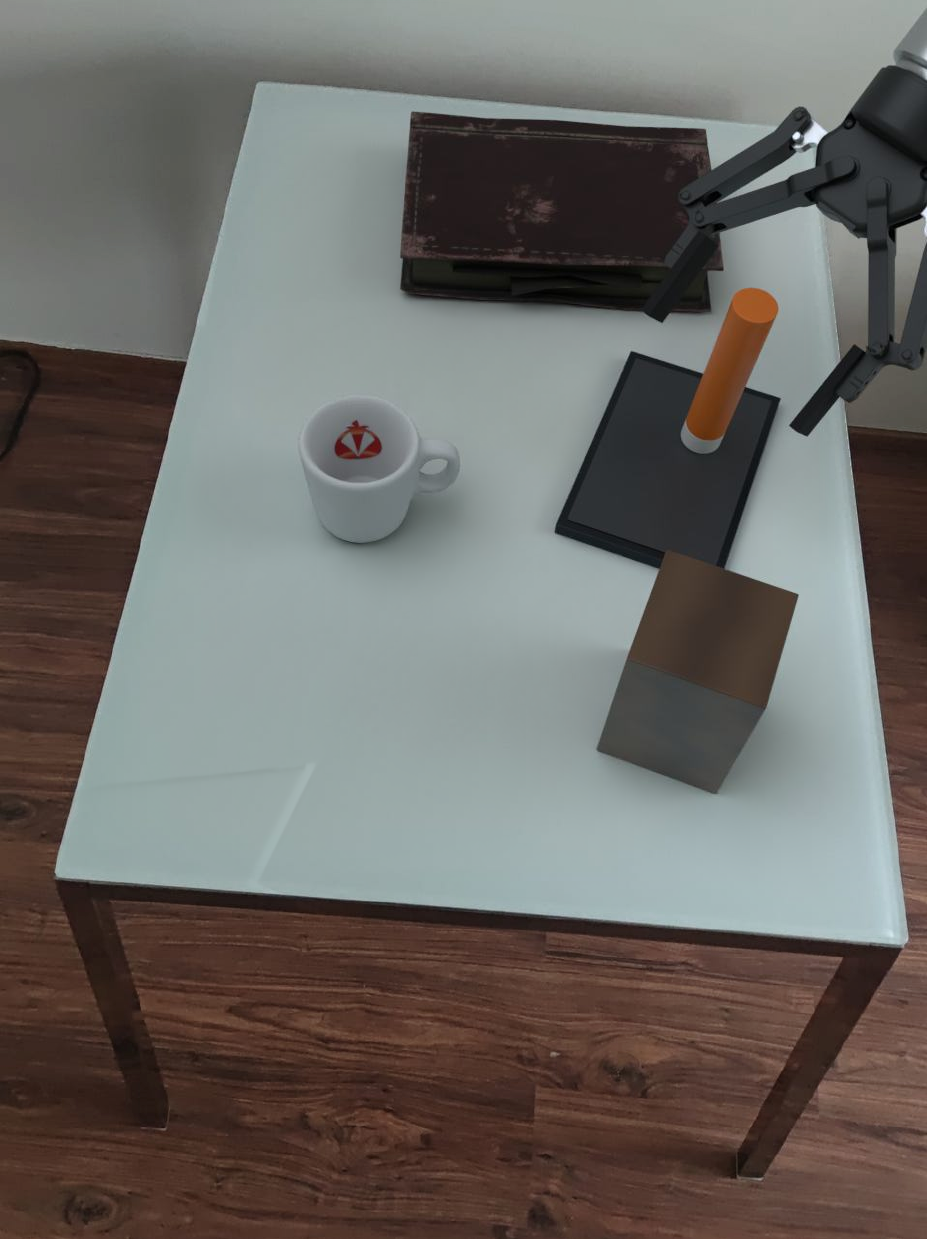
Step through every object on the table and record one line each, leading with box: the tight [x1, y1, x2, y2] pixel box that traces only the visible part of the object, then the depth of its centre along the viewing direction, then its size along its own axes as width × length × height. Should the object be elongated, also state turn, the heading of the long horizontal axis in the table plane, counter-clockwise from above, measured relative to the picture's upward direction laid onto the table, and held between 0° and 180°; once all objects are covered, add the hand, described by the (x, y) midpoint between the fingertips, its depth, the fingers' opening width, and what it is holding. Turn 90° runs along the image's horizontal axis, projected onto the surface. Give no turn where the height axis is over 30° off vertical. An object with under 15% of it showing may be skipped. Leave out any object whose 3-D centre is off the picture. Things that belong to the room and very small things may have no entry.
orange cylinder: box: [681, 287, 779, 454], centre depth 84 cm, size 3×3×14 cm
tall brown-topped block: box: [596, 550, 800, 795], centre depth 74 cm, size 8×8×12 cm
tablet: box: [554, 350, 781, 570], centre depth 89 cm, size 12×18×1 cm, turn 159°
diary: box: [399, 111, 725, 313], centre depth 100 cm, size 19×25×5 cm
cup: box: [297, 394, 461, 544], centre depth 83 cm, size 11×8×8 cm
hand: (722, 373), depth 84 cm, fingers open, 13 cm apart
